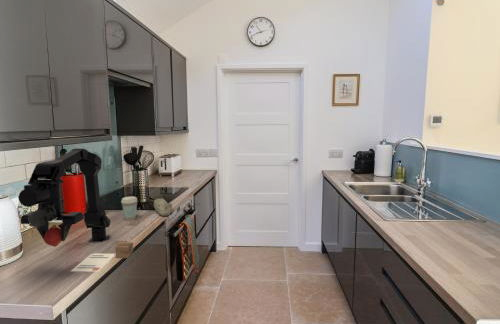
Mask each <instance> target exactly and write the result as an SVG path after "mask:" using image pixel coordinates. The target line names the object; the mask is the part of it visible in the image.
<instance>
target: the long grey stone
mask: <svg viewBox="0 0 500 324" xmlns="http://www.w3.org/2000/svg"><path fill="white" fill-rule="evenodd" d="M152 206H153V208H154V209H155V212H156V213H157V215H159V216H160V217H168V216H171V214H173V204H172V203H168V202H167V200H165V198H161V197H160V198H156V199H155V200H153V205H152Z"/></svg>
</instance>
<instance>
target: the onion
mask: <svg viewBox="0 0 500 324" xmlns="http://www.w3.org/2000/svg"><path fill="white" fill-rule="evenodd" d="M43 241H44V243H45V244H47V245H48V246H52V247H55V248H56V247H57V246H58V245H60V243H62V242H63V241H62V239H61V228H60V227H58V226H57V225H56V224H53V225H52V226H51V227H49V229H48V231H47V232H46V233H45V236H44V240H43Z"/></svg>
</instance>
